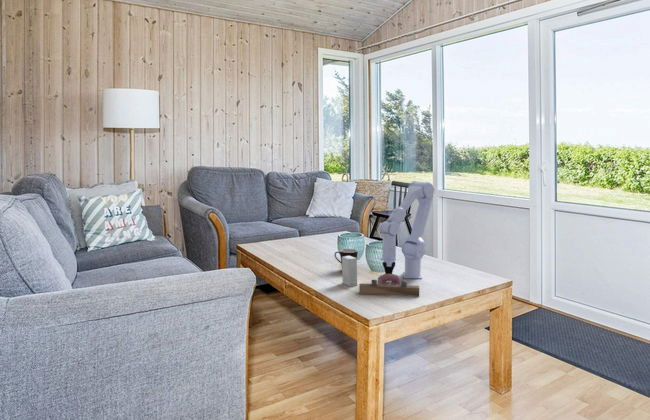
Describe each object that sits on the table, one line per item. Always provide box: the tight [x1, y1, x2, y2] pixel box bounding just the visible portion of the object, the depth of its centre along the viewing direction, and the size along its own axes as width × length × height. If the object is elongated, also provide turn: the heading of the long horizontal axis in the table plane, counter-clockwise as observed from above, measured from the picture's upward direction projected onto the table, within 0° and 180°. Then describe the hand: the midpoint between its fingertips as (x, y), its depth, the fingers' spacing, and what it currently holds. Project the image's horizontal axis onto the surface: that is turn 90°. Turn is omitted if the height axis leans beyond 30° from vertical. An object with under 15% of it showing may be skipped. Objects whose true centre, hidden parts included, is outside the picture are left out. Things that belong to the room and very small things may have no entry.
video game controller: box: [377, 273, 402, 285], centre depth 193 cm, size 10×5×7 cm, turn 92°
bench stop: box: [358, 279, 420, 297], centre depth 184 cm, size 3×24×6 cm, turn 82°
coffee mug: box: [334, 248, 359, 265], centre depth 221 cm, size 12×9×10 cm
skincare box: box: [341, 256, 358, 287], centre depth 197 cm, size 6×4×12 cm
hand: (388, 278), depth 202 cm, fingers closed
